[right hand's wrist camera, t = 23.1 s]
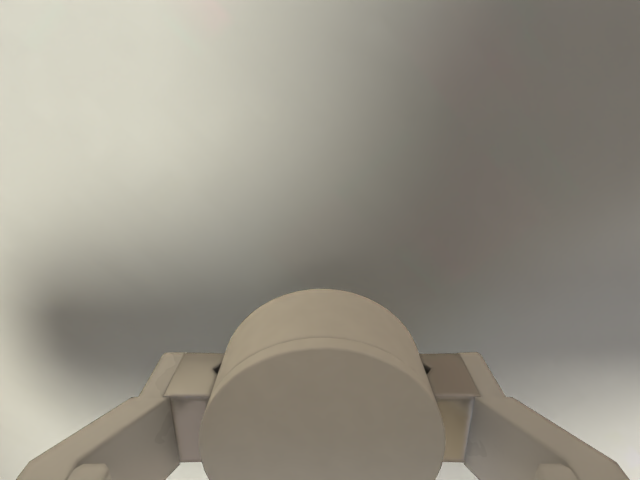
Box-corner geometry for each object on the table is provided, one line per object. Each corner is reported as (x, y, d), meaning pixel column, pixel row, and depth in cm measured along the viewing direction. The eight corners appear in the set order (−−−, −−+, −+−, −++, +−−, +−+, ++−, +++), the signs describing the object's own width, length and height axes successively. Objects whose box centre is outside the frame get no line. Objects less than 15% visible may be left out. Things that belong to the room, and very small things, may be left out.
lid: (251, 261, 10) (230, 317, 7) (451, 319, 10) (488, 386, 8) (204, 424, 11) (176, 509, 9) (379, 466, 12) (392, 556, 10)
